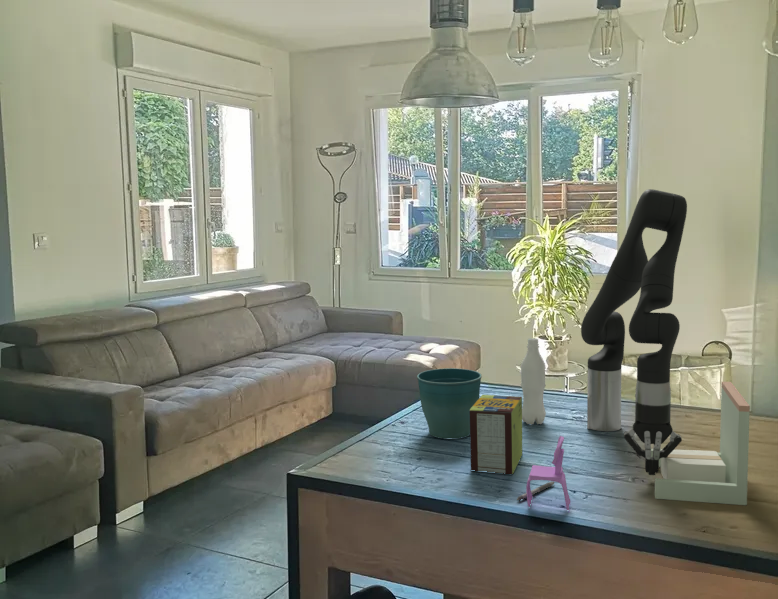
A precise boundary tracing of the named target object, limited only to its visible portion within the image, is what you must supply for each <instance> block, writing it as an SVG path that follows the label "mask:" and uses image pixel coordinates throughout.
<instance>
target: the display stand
mask: <svg viewBox="0 0 778 599" xmlns="http://www.w3.org/2000/svg"><path fill="white" fill-rule="evenodd" d="M720 390H721V394H720V395H721V396H720V397H721V398H720V425H719V426H720V429H719V430H720V432H719V433H720V434H719V436H720V437H719V451H718V452H717V451H716V452H717V454H718V455H719V456H720V458H721V459H722V461H723V462H724V464H725V465H726V477H725V483H720V482H705V481H690V480H675V479H664V478H659V477H658V478H655V477H654V499H656V500H657V499H658V500H671V501H683V502H695V503H696V502H697V503H698V502H699V503H708V504H709V503H710V504H712V503H713V504H721V505H723V504H724V505H737V506H738V505H739V506H748V482H749V481H748V480H749V479H748V476H749V474H748V473H749V445H750V444H749V443H750V442H749V441H750V415H751V414H750V409H751V406H750V404H749V403H748V402H747V401H746V399H745V398H744V396H743V395H742V393H740V392H739V390H738V389H737V388H736V386H735V385H734V384H733V383H732V381H721V389H720ZM661 449H662V448H660V451H661ZM651 457H653V448H651ZM659 468H661V458H660V459H659Z"/></svg>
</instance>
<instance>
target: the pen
mask: <svg viewBox="0 0 778 599" xmlns="http://www.w3.org/2000/svg"><path fill="white" fill-rule="evenodd" d="M554 484H555V482H554V481H548V482H546V483H544V484H542V485H540V486H537V487H536V488H534V489H531V493H532V495H533V496H534V495H536V494H537V492H538V493H540V492H542V491H544V490H546V488H547V489H549V488H551V487H553V485H554ZM548 487H549V488H548ZM535 493H536V494H535ZM526 497H527V494H526V493H525V492H524V493H523V494H521V495H519V496H518V497H517V498H516V501H518V500H521V499H524V498H525V499H527V498H526ZM525 499H524V500H525Z"/></svg>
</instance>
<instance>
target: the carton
mask: <svg viewBox="0 0 778 599" xmlns="http://www.w3.org/2000/svg"><path fill="white" fill-rule="evenodd" d="M660 449H661V450H662V449H663V448H660ZM660 473H661V475H662V477H663V478H662V479H675V480H690V481H705V482H720V483H726V482H725V477H726V465H725V464H724V462H723V461H722V459H721V458H720V456H719V455H718V454H717V451H716V450H697V449H696V450H695V449H694V450H693V449H674V450H673V451H672V452H671V453H670V454H669V455H668V456H667V457H666V458H664V457H663V458H661V467H660Z"/></svg>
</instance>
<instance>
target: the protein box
mask: <svg viewBox="0 0 778 599" xmlns="http://www.w3.org/2000/svg"><path fill="white" fill-rule="evenodd" d="M522 407H523V397H522V396H513V395H498V394H495V395H493V394H482V395H481V396H479V399H478V400H477V402H476V403H475V404H474V405H473V406H472V407H471V409H470V410H469V414H470V435H469V446H470V448H469V454H470V455H469V457H470V471H471V470H475V471H487V472H495V473H503V474H502V475H505V474H513V475H514V473H515V471H516V468H517V467H518V465H519V462H520V461H519V460H521V459H522V457H523V420H522ZM521 456H522V457H521ZM520 458H521V459H520ZM495 473H494V474H495ZM504 473H505V474H504Z"/></svg>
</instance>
